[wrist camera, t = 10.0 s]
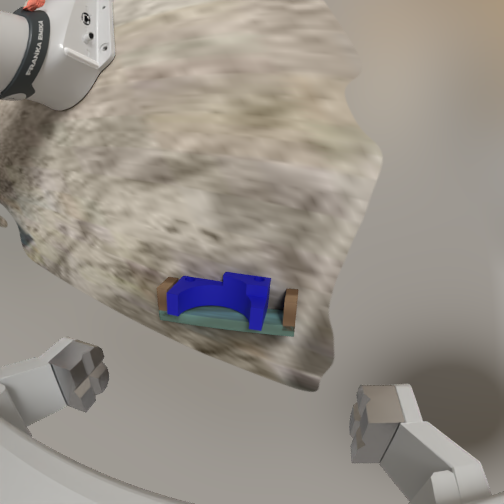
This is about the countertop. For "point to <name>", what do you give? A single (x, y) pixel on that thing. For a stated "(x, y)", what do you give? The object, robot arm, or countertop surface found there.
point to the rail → (231, 314)
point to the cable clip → (223, 295)
